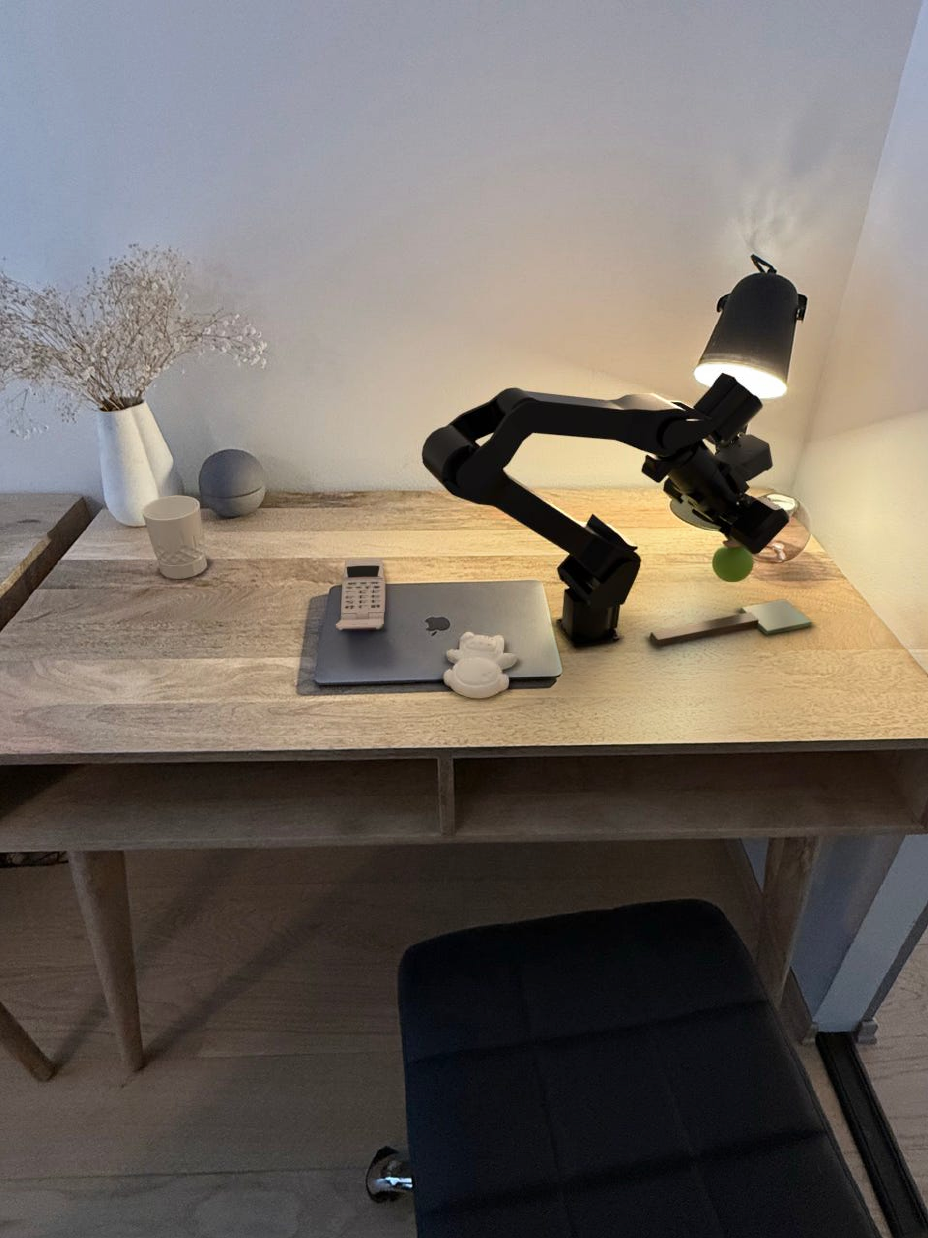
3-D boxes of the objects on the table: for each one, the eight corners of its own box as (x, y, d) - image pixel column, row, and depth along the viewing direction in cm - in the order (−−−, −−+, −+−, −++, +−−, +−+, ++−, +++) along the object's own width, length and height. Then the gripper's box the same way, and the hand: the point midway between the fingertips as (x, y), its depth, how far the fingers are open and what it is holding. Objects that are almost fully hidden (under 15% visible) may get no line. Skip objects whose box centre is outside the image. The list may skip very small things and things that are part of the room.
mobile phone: (334, 628, 99) (342, 530, 120) (337, 667, 102) (344, 566, 123) (384, 626, 100) (383, 529, 120) (386, 665, 103) (385, 564, 124)
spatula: (664, 656, 104) (666, 648, 104) (642, 630, 109) (643, 623, 108) (811, 626, 110) (813, 618, 109) (783, 603, 115) (785, 595, 114)
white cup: (145, 575, 121) (129, 514, 116) (179, 551, 127) (166, 491, 122) (189, 586, 119) (175, 523, 113) (222, 560, 125) (210, 500, 119)
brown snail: (763, 583, 114) (783, 504, 107) (725, 592, 112) (743, 512, 105) (737, 565, 118) (755, 488, 111) (700, 573, 116) (716, 495, 109)
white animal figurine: (522, 645, 106) (523, 626, 104) (503, 703, 96) (504, 683, 95) (456, 636, 108) (456, 617, 106) (431, 692, 98) (430, 672, 97)
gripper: (795, 447, 93) (844, 518, 103) (695, 397, 108) (746, 464, 117) (726, 521, 95) (780, 585, 105) (636, 462, 109) (691, 523, 119)
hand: (749, 535), depth 111 cm, fingers closed on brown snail
